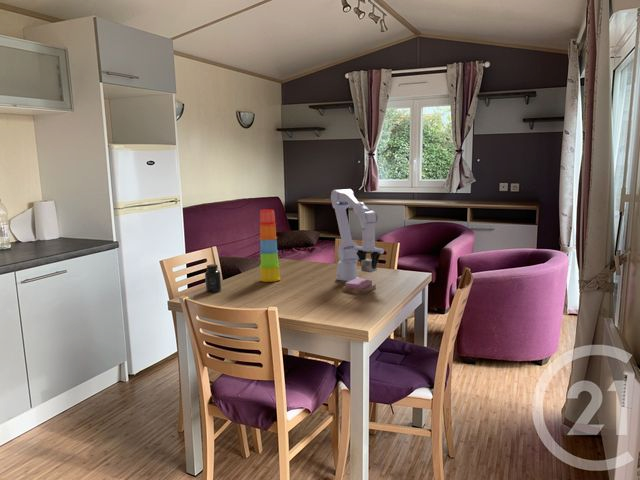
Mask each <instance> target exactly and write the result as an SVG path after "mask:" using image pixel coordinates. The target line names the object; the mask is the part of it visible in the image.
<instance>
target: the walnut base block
mask: <svg viewBox="0 0 640 480" xmlns="http://www.w3.org/2000/svg"><path fill="white" fill-rule="evenodd" d="M376 285H377V284H376V283H372V285H369V286H367V287H365V288H363V289H354V288H348V287H345V285H344V286H342V287H341V289H342V292H343V293H344V292H345V293H350V294H356V295H364V294H366V293H369V292H371V291H372V290H376V288H377V287H376Z"/></svg>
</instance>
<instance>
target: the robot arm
mask: <svg viewBox="0 0 640 480" xmlns="http://www.w3.org/2000/svg"><path fill="white" fill-rule="evenodd" d="M330 200H331V206H332V208H333V209H334V212H335V217H336V220H337V225H338V231H339V234H340V240H341V243H340V244H339V245H338V247H337V257H338V259H339V261H338V262H337V264H336V278H335V280H339V281H344V282H348V281H351V280H353V279H355V278H361V277H359V276H358V268H357V267H358V264H357V263H358V262H360V263H361V260H364V259H367V258H366V257H367V253H370V259H372V269H375V268H376V265H377V264H378V261H379V259H380V257H381V255H382V254H384V253H385V249H384V248H380V247H376V224H377V222H378V221H379V220H378V219H379V218H378V217H379V216H378V213H377V212H376V211H375V210H371V209H369V207H367V205H365V203H364V202H363V201H362V202H361V201H358V199H357V198H356V197H355V193H354V191H353V190H352V189H351V188H346V189H345V188H344V189H333V190H332V191H331V195H330ZM350 206H351V208H353V209H352V210H353V212H354V214H355V215H356V216H358V218H359V222H360V228H361V237H362V238H361V244H362V245H359V244H358V243H356V242H355V241H354V240H353V238H352V234H351V229H350V223H349V220H348V219H349V218H348V214H347V209H348V208H349V207H350Z"/></svg>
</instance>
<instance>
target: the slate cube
mask: <svg viewBox="0 0 640 480" xmlns="http://www.w3.org/2000/svg"><path fill="white" fill-rule="evenodd" d="M377 270H378V269H377V265H376V268H375V269H372V259H371V258H366V259H364V260H361V262H360V271H361V272H365V273H373V272H377Z"/></svg>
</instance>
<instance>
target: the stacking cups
mask: <svg viewBox="0 0 640 480" xmlns="http://www.w3.org/2000/svg"><path fill="white" fill-rule="evenodd" d="M275 215H276V214H275V211H274V209H260V211H259V220H260V223H259V233H260V234H259V235H260V236H259V238H258V239H259V242H260V243H259V245H260V246H259V247H260V251H259V254H260V264H259V267H260V275H261V277H260V278H259V280H260V282H263V283H264V282H265V283H268V282H271V283H273V282H277V281H278V282H279V281H280V280H281V279H282V277H280V263H279V256H278V255H279V254H278V253H279V250H278V242H277V239H278V236H277V230H276V225H277V223H276V216H275Z"/></svg>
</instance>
